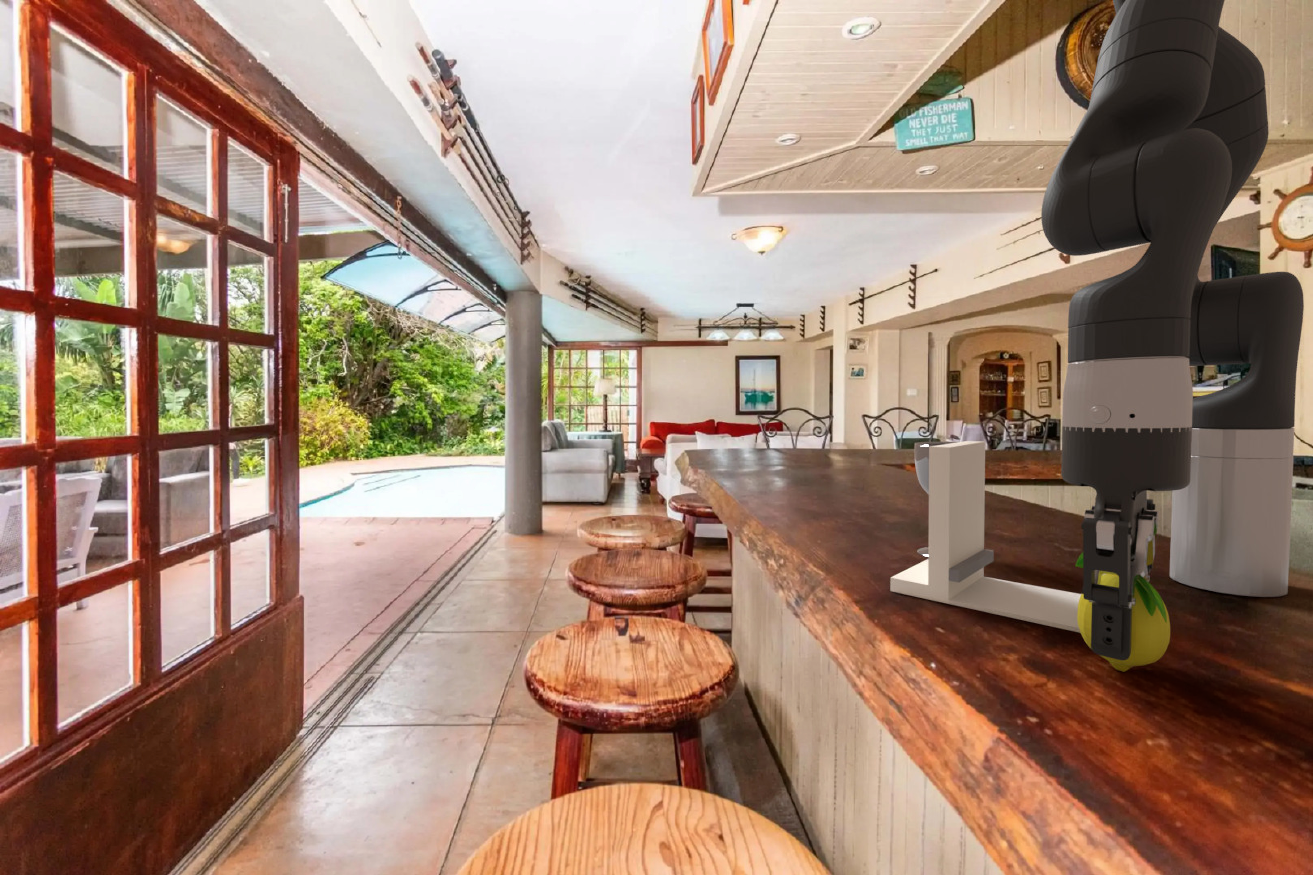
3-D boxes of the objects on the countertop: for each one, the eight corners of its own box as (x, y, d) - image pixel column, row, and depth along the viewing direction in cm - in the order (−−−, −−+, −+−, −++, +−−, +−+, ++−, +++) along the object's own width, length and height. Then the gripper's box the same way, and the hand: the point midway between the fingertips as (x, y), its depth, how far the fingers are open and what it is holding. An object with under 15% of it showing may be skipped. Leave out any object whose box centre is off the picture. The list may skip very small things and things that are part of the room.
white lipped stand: (929, 570, 71) (930, 440, 70) (1121, 605, 58) (1125, 445, 57) (890, 590, 63) (890, 445, 63) (1100, 637, 50) (1105, 453, 49)
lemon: (1073, 645, 49) (1076, 527, 48) (1166, 663, 45) (1170, 536, 44) (1066, 674, 43) (1069, 543, 43) (1171, 698, 40) (1175, 554, 39)
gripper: (1182, 426, 36) (1174, 693, 36) (1199, 419, 45) (1192, 629, 46) (1039, 424, 41) (1035, 657, 42) (1082, 419, 51) (1078, 607, 52)
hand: (1118, 641), depth 44 cm, fingers open, 6 cm apart
